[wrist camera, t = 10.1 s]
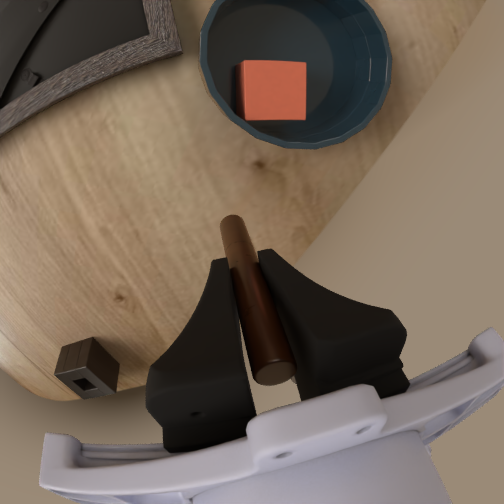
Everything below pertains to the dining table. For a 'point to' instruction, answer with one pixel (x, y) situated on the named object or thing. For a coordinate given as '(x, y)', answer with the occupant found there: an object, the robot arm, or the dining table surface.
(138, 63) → the picture frame
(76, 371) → the stand
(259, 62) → the block
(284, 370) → the brown cylindrical rod
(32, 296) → the dining table surface
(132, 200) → the dining table surface
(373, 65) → the bowl
